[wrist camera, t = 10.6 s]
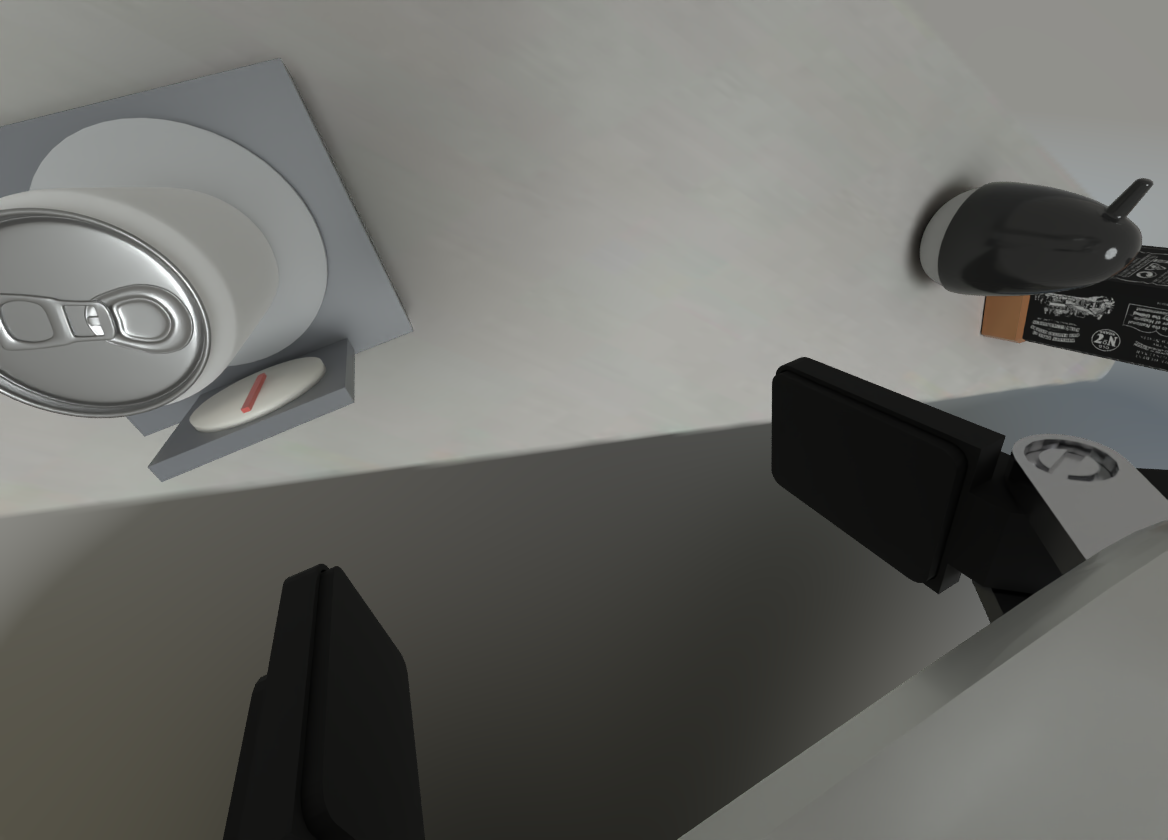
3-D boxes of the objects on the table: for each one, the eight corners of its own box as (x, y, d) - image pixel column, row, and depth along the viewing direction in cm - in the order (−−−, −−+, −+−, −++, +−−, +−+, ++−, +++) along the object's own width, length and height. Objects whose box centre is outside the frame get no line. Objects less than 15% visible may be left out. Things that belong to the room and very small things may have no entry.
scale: (-46, 160, 22) (-387, 140, 12) (290, 74, 25) (246, 2, 15) (168, 407, 29) (70, 525, 19) (407, 315, 32) (430, 375, 22)
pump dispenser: (986, 174, 48) (1206, 171, 36) (957, 277, 53) (1141, 306, 41) (917, 185, 45) (1131, 185, 33) (893, 294, 50) (1070, 330, 38)
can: (291, 328, 25) (250, 420, 15) (134, 332, 23) (-37, 445, 13) (266, 193, 22) (197, 198, 13) (85, 180, 20) (-180, 175, 10)
